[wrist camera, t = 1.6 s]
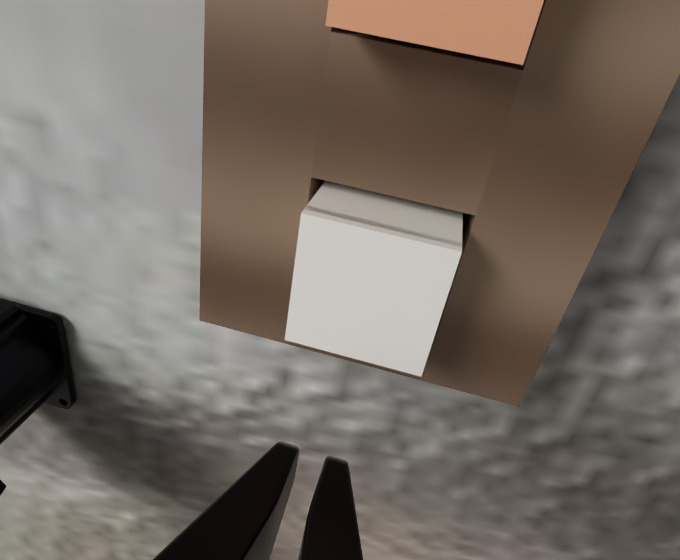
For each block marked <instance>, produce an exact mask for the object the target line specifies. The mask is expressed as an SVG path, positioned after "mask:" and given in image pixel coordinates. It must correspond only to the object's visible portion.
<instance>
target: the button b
mask: <svg viewBox="0 0 680 560" xmlns="http://www.w3.org/2000/svg"><path fill="white" fill-rule="evenodd" d="M543 2H544V0H329V1H328V9H327V17H326V24H325V26H330V27H335V28H340V29H345V30H350V31H355V32H360V33H365V34H370V35H375V36H380V37H385V38H390V39H395V40H400V41H405V42H410V43H415V44H420V45H425V46H430V47H435V48H440V49H445V50H450V51H455V52H460V53H465V54H470V55H475V56H480V57H485V58H490V59H495V60H500V61H505V62H510V63H515V64H520V65H523V63H524V60H525V57H526V54H527V51H528V48H529V45H530V42H531V39H532V36H533V33H534V30H535V27H536V23H537V20H538V17H539V14H540V11H541V8H542V5H543Z"/></svg>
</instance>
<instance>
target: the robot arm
mask: <svg viewBox="0 0 680 560" xmlns="http://www.w3.org/2000/svg"><path fill="white" fill-rule="evenodd" d="M75 402H76V398H75V392H74V385H73V379H72V373H71V366H70V360H69V354H68V347H67V341H66V335H65V328H64V323H63V320H62V319H61V318H60V317H59V316H58V315H56V314H54V313H51V312H47V311H44V310H40V309H37V308H33V307H29V306H26V305H22V304H18V303H15V302H11V301H8V300H4V299H0V444H1V443H2V442H3V441H4V440H5V439H7V438H8V437H9V436H10V435H11V434H12V433H13V432H14V431H15V430H16V429H17V428H18V427H19V426H20V425H21V424H22V423H23V422H24V421H25V420H26V419H27V418H28V417H29V416H30V415H31V414H32V413H33V412H34V411H35V410H36V409H37V408H39V407H40V406H41V405H42V404H43V403H47V404H51V405H54V406H57V407H61V408H64V409H69V408H70V407H71V406H72V405H73V404H74V403H75ZM298 455H299V448H298V447H297V446H294V445H291V444H288V443H284V442H278V443H277V444H275V445H274V446H273V447H272V448H271V449H270V450H269V451H268V452H267V453H266V454H265V455H263V456H262V457H261V458H260V459H259V460H258V461H257V462H256V463H255V464H254V465H253V466H252V467H251V468H250V469H249V470H248V471H246V472H245V473H244V474H243V475H242V476H241V477H240V478H239V479H238V480H237V481H236V482H235V483H234V484H233V485H232V486H231V487H229V488H228V489H227V490H226V491H225V492H224V493H223V494H222V495H221V496H220V497H219V498H218V499H217V500H216V501H215V502H214V503H212V504H211V505H210V506H209V507H208V508H207V509H206V510H205V511H204V512H203V513H202V514H201V515H200V516H199V517H198V518H197V519H195V520H194V521H193V522H192V523H191V524H190V525H189V526H188V527H187V528H186V529H185V530H184V531H183V532H182V533H181V534H180V535H178V536H177V537H176V538H175V539H174V540H173V541H172V542H171V543H170V544H169V545H168V546H167V547H166V548H165V549H164V550H163V551H161V552H160V553H159V554H158V555H157V556H156V557H155V558H154V559H153V560H269V558H270V555H271V552H272V549H273V546H274V542H275V539H276V536H277V533H278V530H279V527H280V523H281V520H282V517H283V514H284V511H285V508H286V504H287V501H288V498H289V495H290V492H291V489H292V485H293V482H294V478H295V472H296V467H297V461H298ZM5 488H6V485H5V484H4V483H3V482H2V481H1V480H0V495H1V494H2V492H3V491H4V489H5ZM298 560H363V556H362V550H361V543H360V537H359V530H358V524H357V517H356V511H355V504H354V498H353V491H352V485H351V478H350V472H349V466H348V463H347V462H346V461H345V460H342V459H339V458H335V457H332V456H328V457H326V459H325V462H324V465H323V468H322V471H321V474H320V477H319V480H318V483H317V486H316V490H315V493H314V496H313V499H312V502H311V505H310V509H309V512H308V516H307V521H306V526H305V530H304V535H303V540H302V545H301V550H300V554H299V559H298Z"/></svg>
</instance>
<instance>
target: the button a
mask: <svg viewBox="0 0 680 560" xmlns="http://www.w3.org/2000/svg"><path fill="white" fill-rule="evenodd" d="M462 227H463V212H458V211H454V210H450V209H445V208H441V207H437V206H432V205H428V204H424V203H420V202H415V201H411V200H407V199H402V198H398V197H394V196H390V195H385V194H381V193H377V192H372V191H368V190H364V189H360V188H355V187H351V186H347V185H342V184H338V183H334V182H330V181H325V182H324V183H323V185H322V186H321V187H320V189H319V190H318V191H317V193H316V194H315V195H314V197H313V198H312V199H311V201H310V202H309V203H308V205H307V206H306V207H305V209H304V210H303V211H302V212H301V217H300V225H299V233H298V240H297V248H296V256H295V263H294V271H293V279H292V287H291V294H290V302H289V310H288V317H287V325H286V333H285V340H286V341H290V342H294V343H298V344H301V345H305V346H309V347H312V348H316V349H320V350H324V351H327V352H331V353H335V354H338V355H342V356H346V357H350V358H353V359H357V360H361V361H364V362H368V363H372V364H376V365H379V366H383V367H387V368H390V369H394V370H398V371H402V372H405V373H409V374H413V375H416V376H420V377H422V373H423V370H424V367H425V364H426V361H427V358H428V355H429V352H430V349H431V346H432V343H433V340H434V337H435V334H436V330H437V327H438V324H439V321H440V318H441V315H442V312H443V309H444V306H445V303H446V300H447V297H448V294H449V291H450V287H451V284H452V281H453V278H454V275H455V272H456V269H457V266H458V263H459V260H460V257H461V254H462Z"/></svg>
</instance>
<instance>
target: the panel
mask: <svg viewBox="0 0 680 560" xmlns="http://www.w3.org/2000/svg"><path fill="white" fill-rule="evenodd" d="M328 1H329V0H205V35H204V93H203V151H202V209H201V267H200V321H204V322H208V323H212V324H215V325H219V326H223V327H226V328H230V329H234V330H237V331H241V332H245V333H249V334H252V335H256V336H260V337H263V338H267V339H271V340H275V341H278V342H282V343H286V344H289V345H293V346H297V347H300V348H304V349H308V350H312V351H315V352H319V353H323V354H326V355H330V356H334V357H337V358H341V359H345V360H349V361H352V362H356V363H360V364H363V365H367V366H371V367H374V368H378V369H382V370H386V371H389V372H393V373H397V374H400V375H404V376H408V377H412V378H415V379H419V380H423V381H426V382H430V383H434V384H437V385H441V386H445V387H449V388H452V389H456V390H460V391H463V392H467V393H471V394H474V395H478V396H482V397H486V398H489V399H493V400H497V401H500V402H504V403H508V404H511V405H515V406H519V407H520V405H521V403H522V401H523V399H524V396H525V394H526V392H527V390H528V388H529V386H530V384H531V382H532V380H533V378H534V376H535V374H536V372H537V369H538V367H539V365H540V363H541V361H542V359H543V357H544V355H545V353H546V351H547V349H548V347H549V345H550V342H551V340H552V338H553V336H554V334H555V332H556V330H557V328H558V326H559V324H560V322H561V320H562V318H563V315H564V313H565V311H566V309H567V307H568V305H569V303H570V301H571V299H572V297H573V295H574V293H575V291H576V288H577V286H578V284H579V282H580V280H581V278H582V276H583V274H584V272H585V270H586V268H587V266H588V264H589V261H590V259H591V257H592V255H593V253H594V251H595V249H596V247H597V245H598V243H599V241H600V239H601V237H602V234H603V232H604V230H605V228H606V226H607V224H608V222H609V220H610V218H611V216H612V214H613V212H614V210H615V207H616V205H617V203H618V201H619V199H620V197H621V195H622V193H623V191H624V189H625V187H626V185H627V183H628V180H629V178H630V176H631V174H632V172H633V170H634V168H635V166H636V164H637V162H638V160H639V158H640V156H641V153H642V151H643V149H644V147H645V145H646V143H647V141H648V139H649V137H650V135H651V133H652V131H653V129H654V126H655V124H656V122H657V120H658V118H659V116H660V114H661V112H662V110H663V108H664V106H665V104H666V102H667V99H668V97H669V95H670V93H671V91H672V89H673V87H674V85H675V83H676V81H677V79H678V77H679V75H680V0H544V2H543V5H542V8H541V11H540V14H539V17H538V20H537V23H536V27H535V30H534V33H533V36H532V39H531V42H530V45H529V48H528V51H527V54H526V57H525V60H524V63H523V65H520V64H515V63H510V62H505V61H500V60H495V59H490V58H485V57H480V56H475V55H470V54H465V53H460V52H455V51H450V50H445V49H440V48H435V47H430V46H425V45H420V44H415V43H410V42H405V41H400V40H395V39H390V38H385V37H380V36H375V35H370V34H365V33H360V32H355V31H350V30H345V29H340V28H335V27H330V26H325V24H326V17H327V9H328ZM325 181H330V182H334V183H338V184H342V185H347V186H351V187H355V188H360V189H364V190H368V191H372V192H377V193H381V194H385V195H390V196H394V197H398V198H402V199H407V200H411V201H415V202H420V203H424V204H428V205H432V206H437V207H441V208H445V209H450V210H454V211H458V212H463V227H462V254H461V257H460V260H459V263H458V266H457V269H456V272H455V275H454V278H453V281H452V284H451V287H450V291H449V294H448V297H447V300H446V303H445V306H444V309H443V312H442V315H441V318H440V321H439V324H438V327H437V330H436V334H435V337H434V340H433V343H432V346H431V349H430V352H429V355H428V358H427V361H426V364H425V367H424V370H423V373H422V377H420V376H416V375H413V374H409V373H405V372H402V371H398V370H394V369H390V368H387V367H383V366H379V365H376V364H372V363H368V362H364V361H361V360H357V359H353V358H350V357H346V356H342V355H338V354H335V353H331V352H327V351H324V350H320V349H316V348H312V347H309V346H305V345H301V344H298V343H294V342H290V341H286V340H285V333H286V325H287V317H288V310H289V302H290V294H291V287H292V279H293V271H294V263H295V256H296V248H297V240H298V233H299V225H300V217H301V212H302V211H303V210H304V209H305V207H306V206H307V205H308V203H309V202H310V201H311V199H312V198H313V197H314V195H315V194H316V193H317V191H318V190H319V189H320V187H321V186H322V185H323V183H324V182H325Z"/></svg>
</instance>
